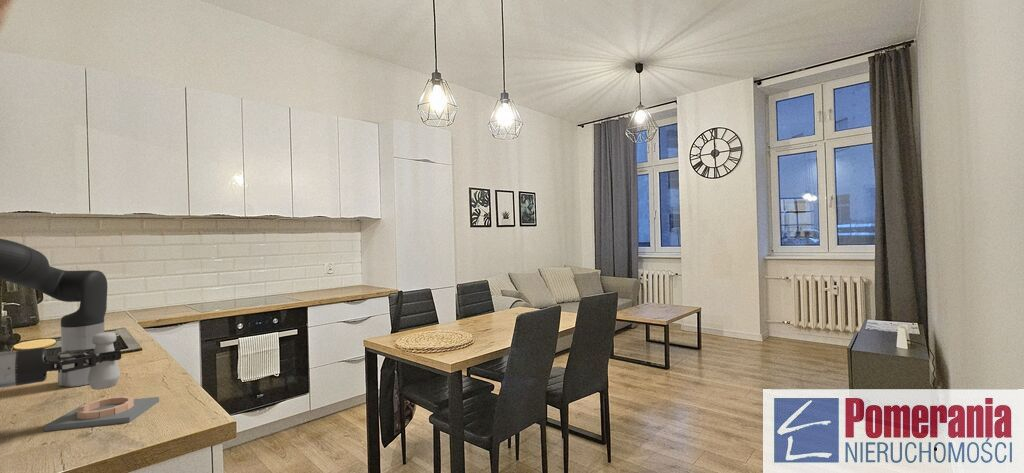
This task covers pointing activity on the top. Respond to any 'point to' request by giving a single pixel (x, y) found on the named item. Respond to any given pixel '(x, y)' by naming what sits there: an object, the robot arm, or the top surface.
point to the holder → (103, 413)
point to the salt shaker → (104, 363)
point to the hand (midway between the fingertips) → (120, 353)
